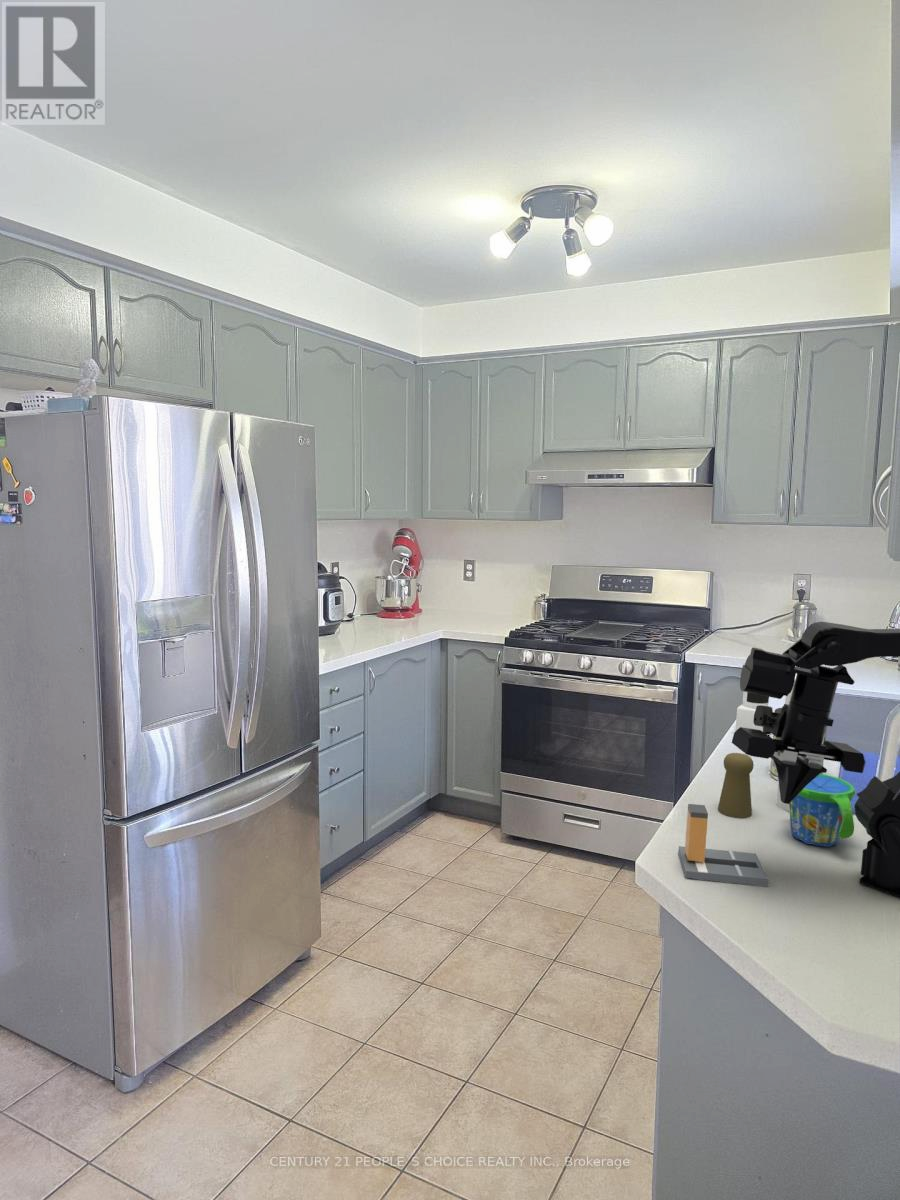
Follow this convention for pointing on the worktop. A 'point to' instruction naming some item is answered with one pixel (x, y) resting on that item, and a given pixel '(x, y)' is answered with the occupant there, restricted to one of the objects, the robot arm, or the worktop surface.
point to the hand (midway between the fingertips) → (784, 802)
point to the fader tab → (696, 832)
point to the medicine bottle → (750, 710)
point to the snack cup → (823, 811)
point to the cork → (736, 786)
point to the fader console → (725, 867)
